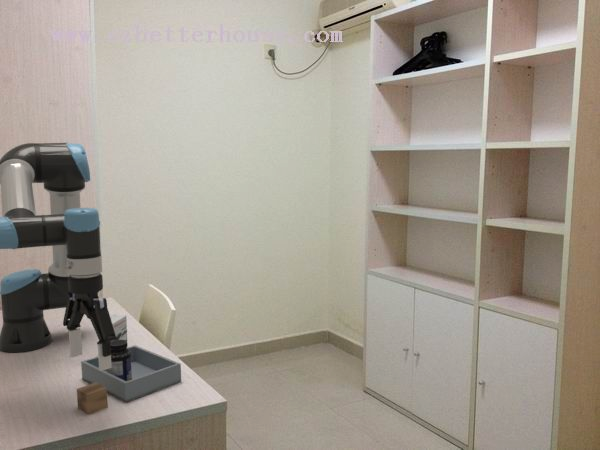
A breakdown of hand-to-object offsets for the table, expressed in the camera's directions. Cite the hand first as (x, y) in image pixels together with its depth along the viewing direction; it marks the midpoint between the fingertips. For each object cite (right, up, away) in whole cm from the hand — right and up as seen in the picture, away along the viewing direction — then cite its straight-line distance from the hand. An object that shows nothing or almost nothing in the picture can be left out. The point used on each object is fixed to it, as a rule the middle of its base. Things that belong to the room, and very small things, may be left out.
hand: (90, 362), depth 134 cm
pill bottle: (+2, -9, +15) cm, 18 cm away
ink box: (-6, -7, +35) cm, 36 cm away
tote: (+5, -9, +18) cm, 20 cm away
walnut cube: (0, -12, +2) cm, 12 cm away
